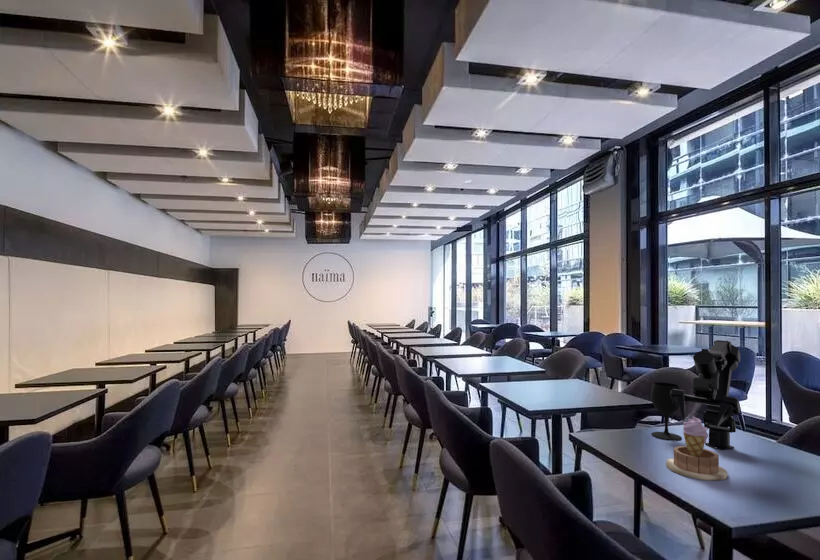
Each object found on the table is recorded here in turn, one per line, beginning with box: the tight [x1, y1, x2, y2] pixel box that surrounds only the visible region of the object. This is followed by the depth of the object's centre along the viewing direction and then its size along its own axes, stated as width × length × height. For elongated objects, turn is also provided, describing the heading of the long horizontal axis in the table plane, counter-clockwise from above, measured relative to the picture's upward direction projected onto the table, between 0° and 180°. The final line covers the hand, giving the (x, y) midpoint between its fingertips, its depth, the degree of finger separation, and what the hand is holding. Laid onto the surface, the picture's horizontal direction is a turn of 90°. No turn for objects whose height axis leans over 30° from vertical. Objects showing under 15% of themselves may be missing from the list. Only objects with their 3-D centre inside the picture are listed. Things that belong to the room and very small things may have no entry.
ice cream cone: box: [682, 416, 709, 457], centre depth 140 cm, size 7×6×15 cm
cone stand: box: [665, 445, 729, 482], centre depth 140 cm, size 16×16×6 cm
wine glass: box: [650, 381, 683, 442], centre depth 175 cm, size 10×10×20 cm
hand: (699, 423), depth 144 cm, fingers open, 9 cm apart
